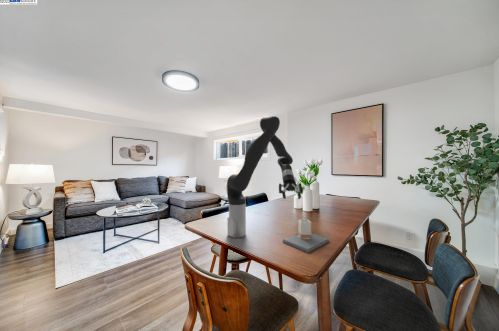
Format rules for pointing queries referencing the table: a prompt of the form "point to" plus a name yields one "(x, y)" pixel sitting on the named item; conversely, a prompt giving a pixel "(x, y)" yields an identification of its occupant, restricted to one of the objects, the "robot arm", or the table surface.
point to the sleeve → (304, 228)
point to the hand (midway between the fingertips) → (292, 198)
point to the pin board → (306, 242)
